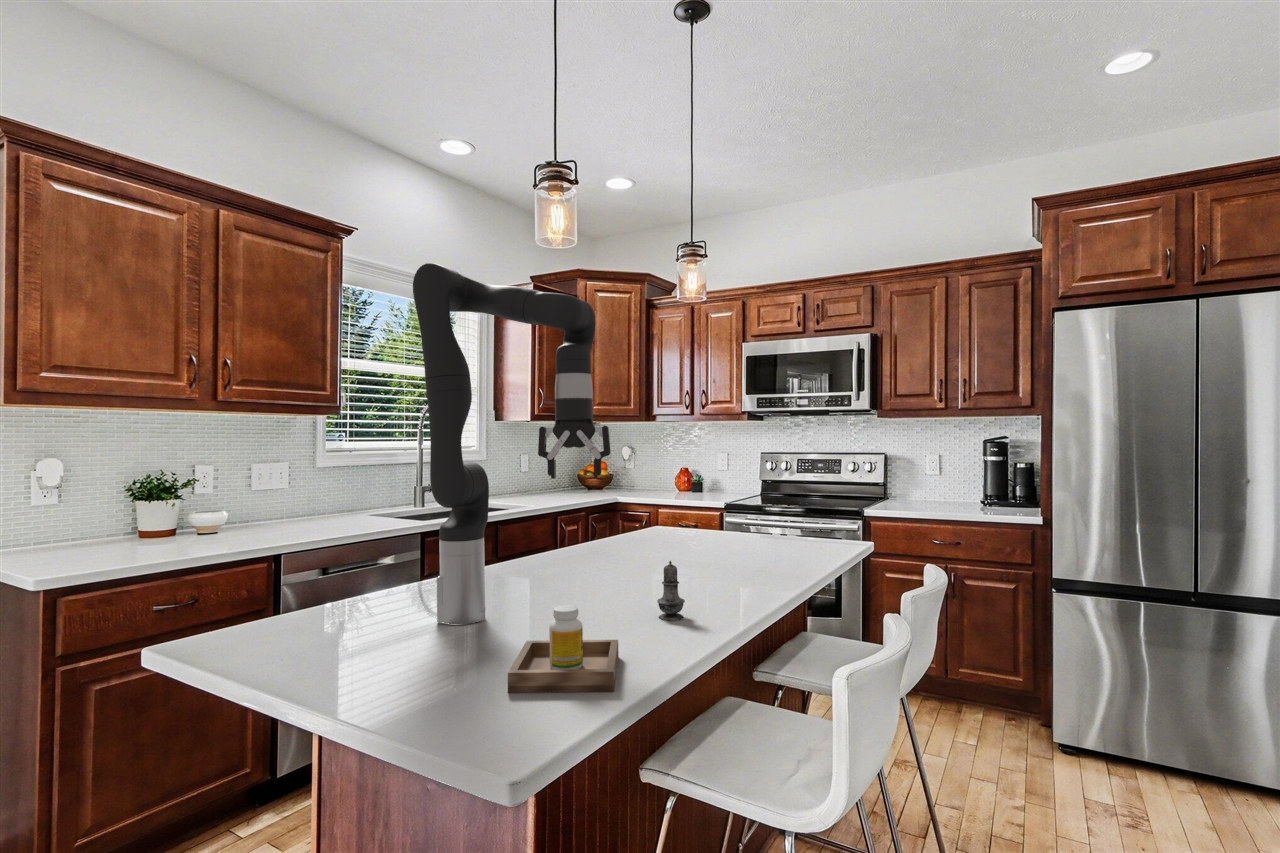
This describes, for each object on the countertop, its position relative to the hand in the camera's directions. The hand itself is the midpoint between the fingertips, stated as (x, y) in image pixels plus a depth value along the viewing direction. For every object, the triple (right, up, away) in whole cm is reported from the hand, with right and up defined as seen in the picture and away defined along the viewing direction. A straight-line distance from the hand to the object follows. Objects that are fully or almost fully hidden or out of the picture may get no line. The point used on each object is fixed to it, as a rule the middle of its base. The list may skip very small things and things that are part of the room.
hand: (574, 478), depth 136 cm
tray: (+1, -30, -25) cm, 39 cm away
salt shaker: (+20, -30, +7) cm, 37 cm away
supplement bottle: (+1, -29, -25) cm, 38 cm away
